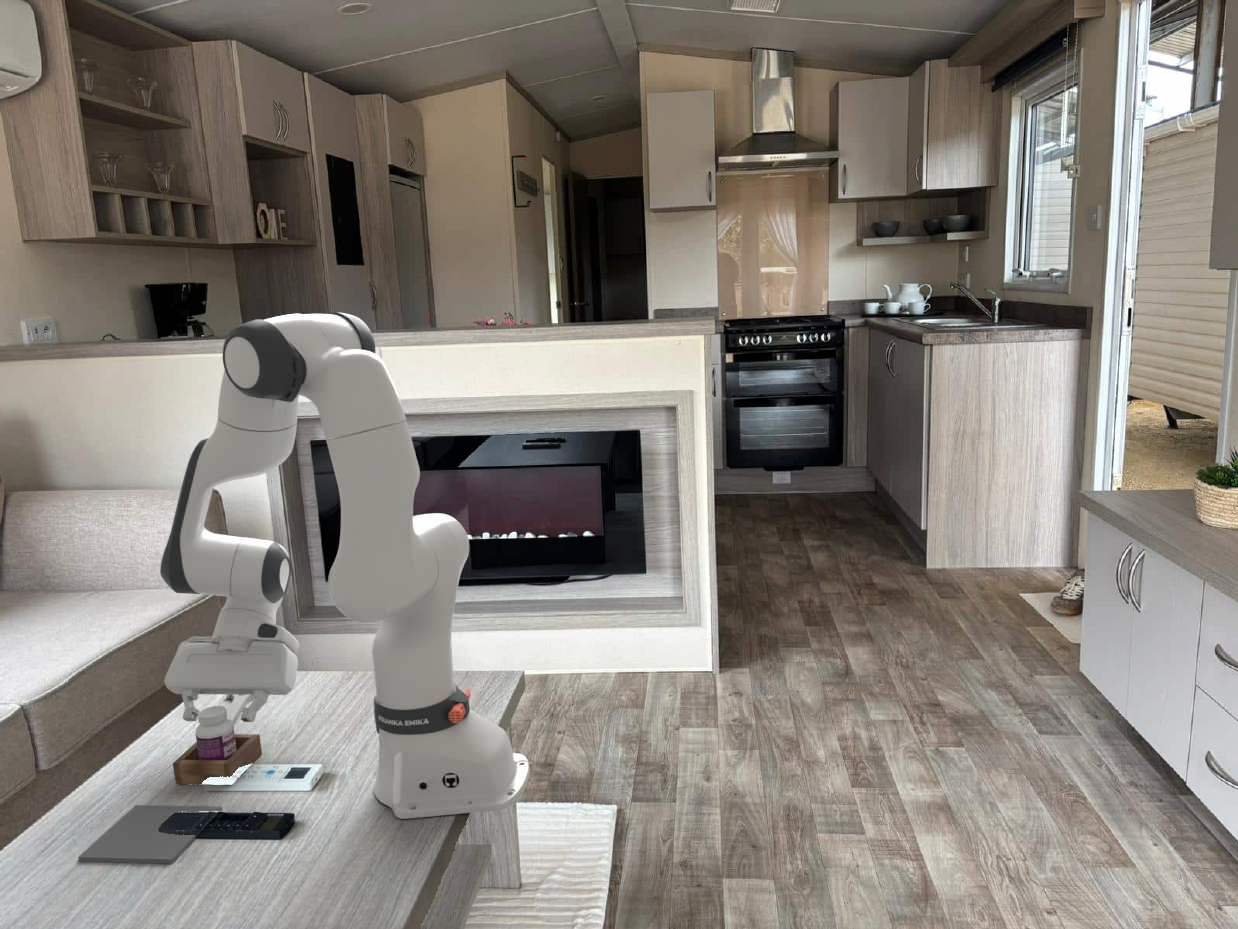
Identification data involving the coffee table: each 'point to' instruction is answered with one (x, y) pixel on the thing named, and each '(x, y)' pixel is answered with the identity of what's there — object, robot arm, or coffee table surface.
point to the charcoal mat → (142, 837)
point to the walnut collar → (216, 761)
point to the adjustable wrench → (237, 706)
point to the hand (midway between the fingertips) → (218, 720)
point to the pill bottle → (215, 734)
